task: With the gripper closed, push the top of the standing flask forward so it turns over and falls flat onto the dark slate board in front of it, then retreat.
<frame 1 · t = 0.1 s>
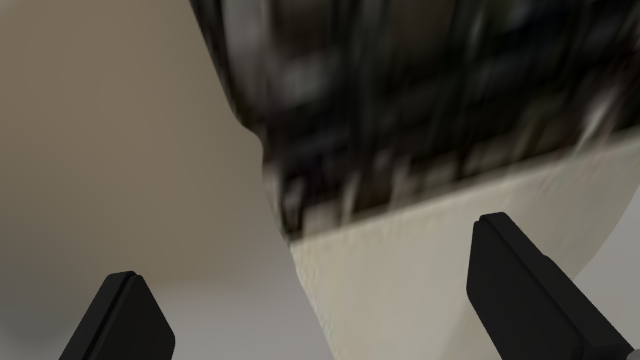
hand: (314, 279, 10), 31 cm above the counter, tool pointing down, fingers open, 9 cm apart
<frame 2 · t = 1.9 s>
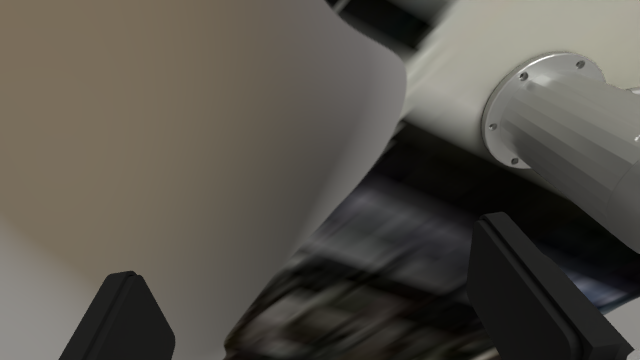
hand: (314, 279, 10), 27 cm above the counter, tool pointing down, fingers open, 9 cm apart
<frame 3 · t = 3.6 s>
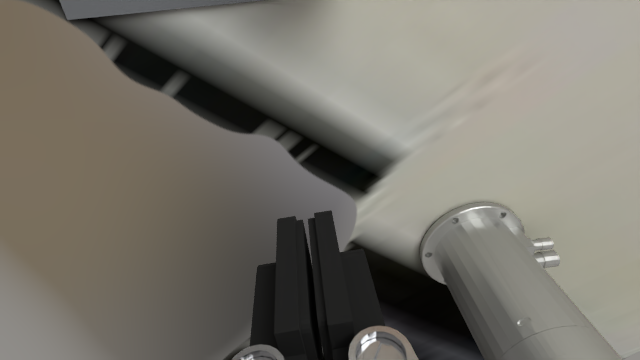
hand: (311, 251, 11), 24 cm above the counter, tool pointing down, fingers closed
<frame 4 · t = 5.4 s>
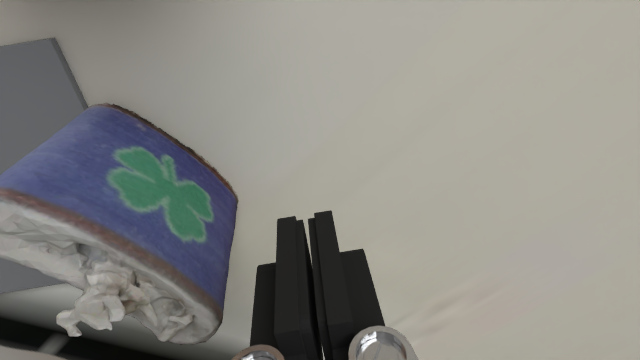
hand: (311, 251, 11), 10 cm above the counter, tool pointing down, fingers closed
flask: (171, 162, 20), on the counter, touching slate board
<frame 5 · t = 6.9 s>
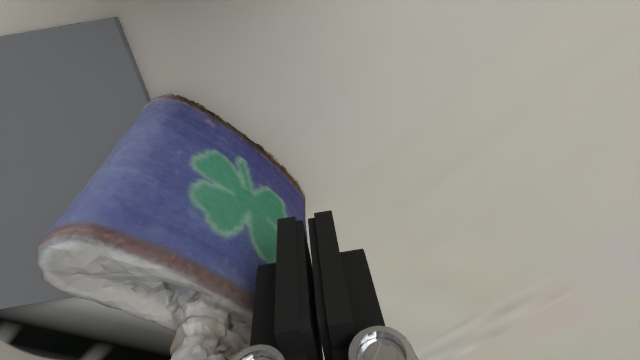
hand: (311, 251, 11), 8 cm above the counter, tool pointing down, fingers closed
slate board: (10, 195, 18), on the counter
flask: (236, 158, 18), on the counter, touching gripper, slate board
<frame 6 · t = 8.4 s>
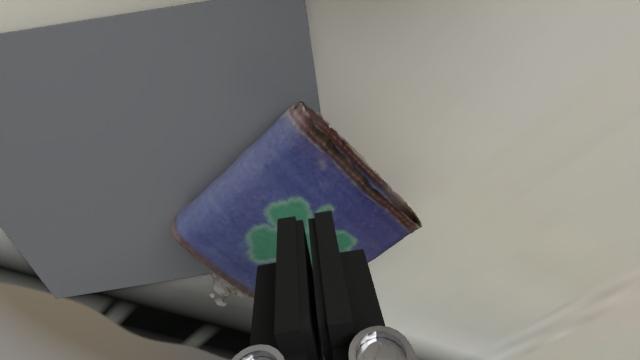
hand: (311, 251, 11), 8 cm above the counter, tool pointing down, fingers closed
slate board: (156, 170, 18), on the counter
flask: (371, 166, 17), point 2 cm above the counter, touching slate board
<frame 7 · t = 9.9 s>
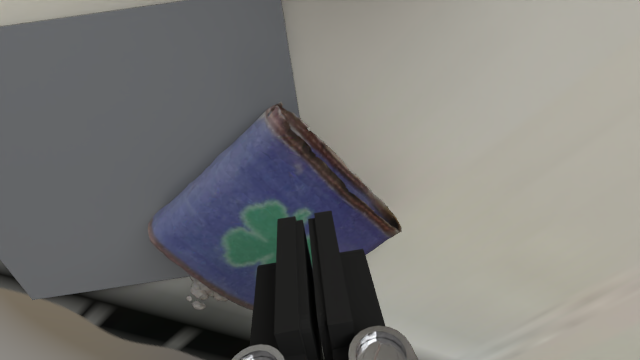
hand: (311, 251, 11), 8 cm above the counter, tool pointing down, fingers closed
slate board: (133, 171, 17), on the counter
flask: (350, 169, 17), point 2 cm above the counter, touching slate board
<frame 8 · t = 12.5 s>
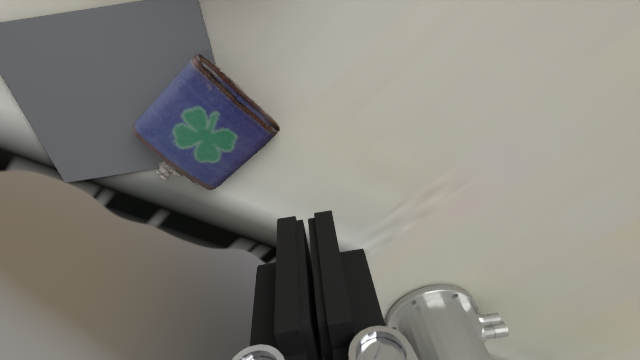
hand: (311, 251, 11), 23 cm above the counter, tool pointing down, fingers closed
slate board: (124, 97, 31), on the counter
flask: (243, 92, 30), point 2 cm above the counter, touching slate board
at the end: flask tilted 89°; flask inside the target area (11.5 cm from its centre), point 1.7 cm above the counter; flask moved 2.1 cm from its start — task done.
